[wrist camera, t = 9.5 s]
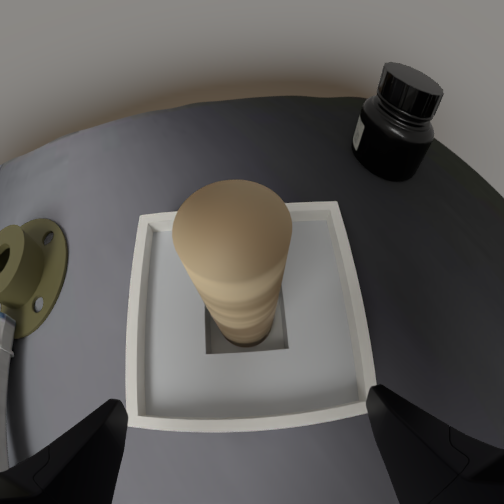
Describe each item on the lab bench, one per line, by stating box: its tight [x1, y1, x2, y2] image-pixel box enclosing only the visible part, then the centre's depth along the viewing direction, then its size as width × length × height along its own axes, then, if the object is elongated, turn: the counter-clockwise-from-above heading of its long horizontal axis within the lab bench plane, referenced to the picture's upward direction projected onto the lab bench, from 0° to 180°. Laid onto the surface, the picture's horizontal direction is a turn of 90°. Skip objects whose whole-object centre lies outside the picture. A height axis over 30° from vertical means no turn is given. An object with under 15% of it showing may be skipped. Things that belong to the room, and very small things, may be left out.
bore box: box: [126, 201, 377, 432], centre depth 19 cm, size 16×16×4 cm
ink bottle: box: [352, 62, 444, 181], centre depth 25 cm, size 10×9×12 cm
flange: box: [0, 219, 68, 339], centre depth 21 cm, size 5×15×15 cm
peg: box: [172, 180, 292, 347], centre depth 15 cm, size 4×4×13 cm
